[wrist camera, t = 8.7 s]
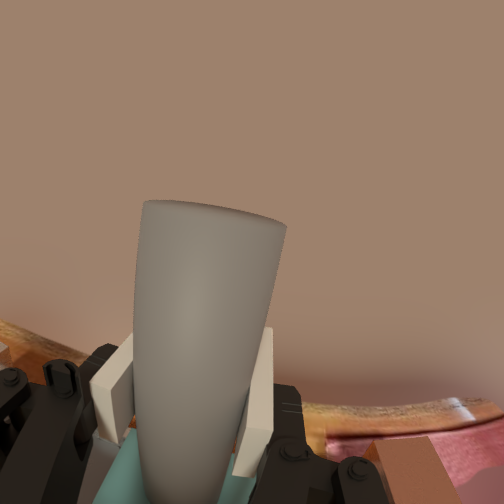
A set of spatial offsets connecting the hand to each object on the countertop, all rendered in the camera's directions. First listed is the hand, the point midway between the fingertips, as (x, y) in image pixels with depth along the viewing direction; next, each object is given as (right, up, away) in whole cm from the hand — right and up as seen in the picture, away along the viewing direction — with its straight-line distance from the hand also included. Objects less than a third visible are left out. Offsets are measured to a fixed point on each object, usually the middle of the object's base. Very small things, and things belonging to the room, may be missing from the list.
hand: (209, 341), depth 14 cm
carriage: (-2, -11, -2) cm, 11 cm away
